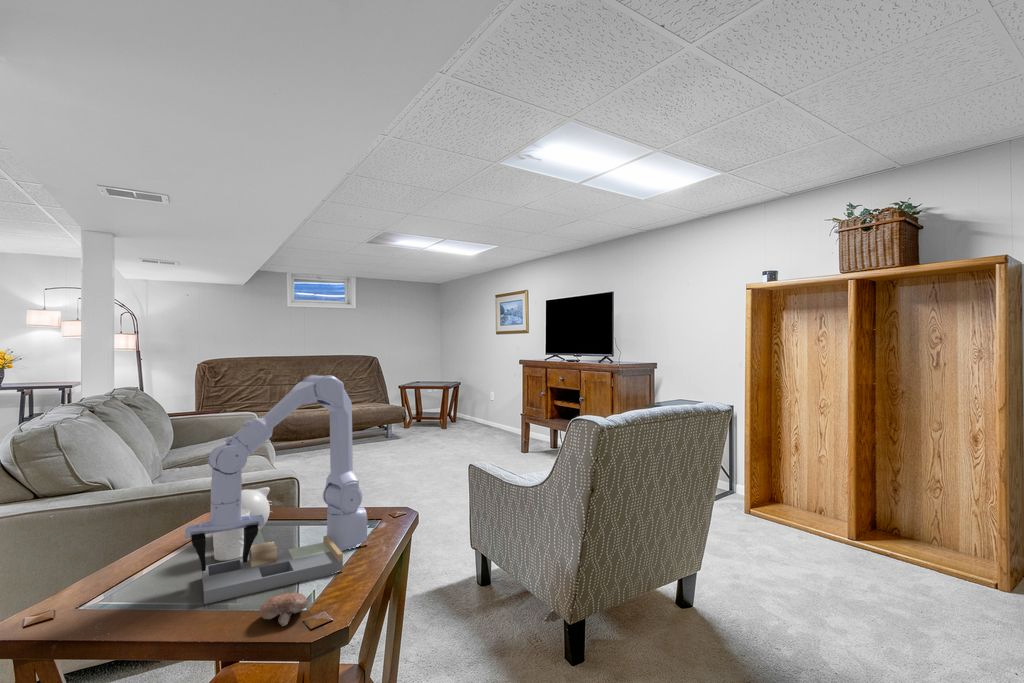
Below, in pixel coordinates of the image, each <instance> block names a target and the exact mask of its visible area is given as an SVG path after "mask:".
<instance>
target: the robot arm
mask: <svg viewBox="0 0 1024 683" xmlns="http://www.w3.org/2000/svg"><path fill="white" fill-rule="evenodd" d="M316 403H318V404H320V405H321V406H322V407H324V408H325V409H326V410H328V411H329V449H330V450H329V451H330V453H329V457H330V460H329V461H330V462H329V463H330V464H329V465H330V467H329V468H330V472H329V474H328V475H327V477H326V478H325V480H326V481H325V482H326V484H325V488H324V489H323V493H322V500H323V501H324V503H325V504H326V505H327V512H326V513H327V514H326V516H327V517H326V519H327V520H326V536H327V535H328V536H329V538H330V539H331V540H332V541H333V542H334V544H335V545H336V546H337V547H338V548H339V550H340V551H341V552H344V551H343V550H345V551H347V550H346V549H349V548H353V547H356V545H357V544H360V543H362V542H364V541H366V540H367V541H368V514H367V510H366V508H365V507H363V506H361V505H362V501H363V492H362V490H361V488H360V481H359V479H358V477H357V476H356V474H355V473H354V469H353V468H354V466H353V464H354V463H353V462H354V460H353V458H354V457H353V407H352V405H353V403H352V400H351V398H350V396H349V394H348V393H347V391H346V390H345V385H344V382H343V381H342V380H340V379H339V378H337V377H336V376H333V375H331V374H330V375H317V374H310V375H307V376H306V377H305V378H304V379H303V380H302V381H299V382H297V383H296V385H294V386H293V387H292V388H291V390H290V391H289V392H288V393H287V394H285V395H284V397H283V398H282V399H280V400H279V401H278V402H277V403H276V404H275V405H274V406H273V407H272V408H271V409H269V411H267V413H266V414H265V415H263V416H262V417H260V418H258V417H254V418H252V419H250V420H249V419H247V420H245V421H244V422H243V423H242V427H241V428H240V429H239V430H238V431H237V432H236V433H234V434H232V436H231V437H229V436H228V437H227V438H225V439H224V441H225V443H222V444H218V445H217V446H215V447H214V448H212V450H211V451H210V455H209V457H207V463H208V466H209V467H210V468H212V469H211V480H210V482H211V483H210V512H209V514H210V515H209V516H210V518H209V521H206V522H201V523H198V524H192V525H188V526H187V525H186V526H184V527H185V528H184V539H191V540H190V541H191V544H192V546H193V548H194V550H195V551H196V553H197V556H198V559H199V562H200V566H201V572H202V571H206V565H207V564H206V562H207V561H206V545H207V544H206V542H207V541H206V535H208V534H213V533H216V532H222V531H228V530H234V529H240V528H244V547H243V556H242V558H243V563H246V562H247V559H248V557H249V551H250V548H251V546H252V545H253V543H254V541H255V539H256V537H257V535H258V532H259V531H258V526H263V525H264V516H263V515H256V516H242V517H241V491H242V490H243V488H242V487H243V486H242V483H243V482H242V481H243V480H242V479H243V478H242V470H243V468H244V467H245V466H246V465H247V463H248V462H247V461H248V459H249V458H248V457H250V456H251V455H252V454H254V453H255V452H256V451H257V450H258V449H259V448H261V447H262V446H263V445H264V444H265V443H266V442H267V441H268V440H270V438H271V437H272V436H273V432H274V428H275V427H276V426H278V425H279V424H280V423H281V422H282V421H283V420H285V419H286V418H287V417H288V416H290V415H291V414H292V413H293V412H295V410H297V409H298V408H299V407H301V406H303V405H308V404H316ZM360 506H361V507H360ZM264 526H265V525H264ZM264 526H263V527H264ZM321 543H323V542H321ZM349 550H350V549H349Z"/></svg>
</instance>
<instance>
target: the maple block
mask: <svg viewBox="0 0 1024 683" xmlns="http://www.w3.org/2000/svg"><path fill="white" fill-rule="evenodd" d="M277 552H278V547H277V545H276V543H275V541H269V542H263V543H258V544H257V543H256V544H252V546H251V548H250V551H249V555H248V557H249V561H250V565H251V567H254V566H259V565H264V564H269V563H274V562H277Z"/></svg>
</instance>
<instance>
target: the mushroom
mask: <svg viewBox="0 0 1024 683" xmlns="http://www.w3.org/2000/svg"><path fill="white" fill-rule="evenodd" d="M307 606H308V599H307V597H306V596H305V595H303V593H299V592H288V593H287V592H285V593H282V594H279V595H275V596H272V597H270V598H269V599H267V600H266V601H265V602H263V604H261V606H260V608H259V614H260V616H261V617H262V619H264V620H273V619H274V618H276V617H277V616H279V617H278V621H277V622H278V624H279V625H280V626H281V627H284V626H287V625H288V623H289V622H290V619H291V616H292V615H293V614H297V613H300V612H301V611H302V610H304V609H305V608H306V607H307Z"/></svg>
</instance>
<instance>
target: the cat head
mask: <svg viewBox="0 0 1024 683" xmlns="http://www.w3.org/2000/svg"><path fill="white" fill-rule="evenodd" d="M270 491H271V489H270V487H268V486H266V487H261V488H256V489H251V488H250V489H247V488H246V489H242V491H241V509H247V510H249V511H250V516H256V515H263V516H264V525H263V526H258V532H259V531H260V530H261V529H263V528H264V526H265V525H266V523H267V521H268V519H269V517H270V513H273V511H272V510H271V508H270V505H271V506H272V505H273V504H272V501H271V500H268V498H267V496H268V494H269V492H270Z"/></svg>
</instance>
